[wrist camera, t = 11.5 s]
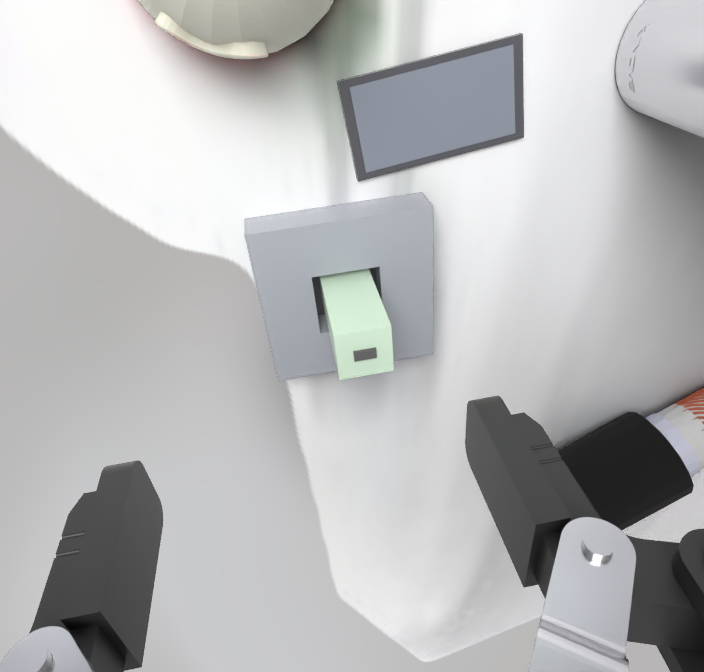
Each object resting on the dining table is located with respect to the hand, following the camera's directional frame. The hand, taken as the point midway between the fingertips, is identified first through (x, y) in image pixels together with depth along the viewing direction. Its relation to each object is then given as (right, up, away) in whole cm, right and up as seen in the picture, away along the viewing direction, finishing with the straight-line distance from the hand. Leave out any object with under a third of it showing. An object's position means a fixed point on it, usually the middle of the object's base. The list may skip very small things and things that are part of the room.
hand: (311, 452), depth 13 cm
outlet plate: (0, +7, +32) cm, 33 cm away
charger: (0, +7, +32) cm, 33 cm away
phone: (+7, +20, +26) cm, 33 cm away
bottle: (+40, -4, +49) cm, 63 cm away
